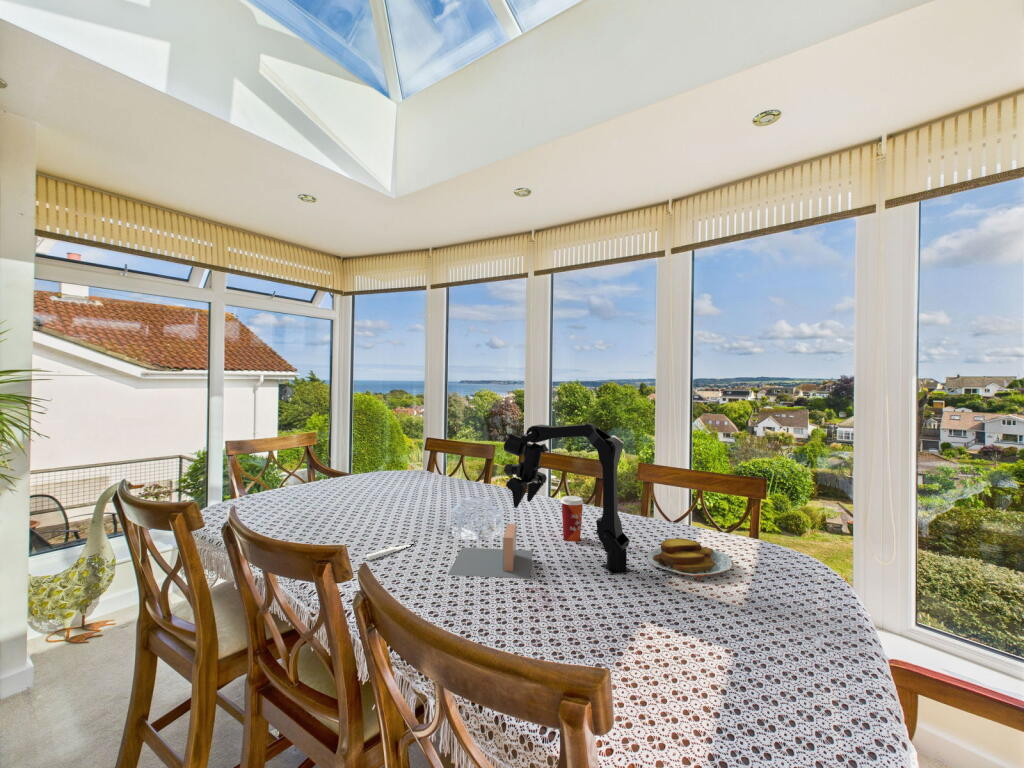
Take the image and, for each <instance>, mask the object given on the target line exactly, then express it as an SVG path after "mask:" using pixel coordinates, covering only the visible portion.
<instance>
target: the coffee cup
mask: <svg viewBox="0 0 1024 768" xmlns="http://www.w3.org/2000/svg"><path fill="white" fill-rule="evenodd" d="M560 503H561V514H562V515H561V516H562V517H561V518H562V535H563V541H564V542H575V543H578V542H580V541H581V534H582V532H581V531H582V522H583V521H582V519H583V505H584V503H585V502H584V501H583V497H581V496H577V495H566V496H562V497H561V500H560Z"/></svg>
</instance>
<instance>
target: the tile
mask: <svg viewBox="0 0 1024 768" xmlns="http://www.w3.org/2000/svg"><path fill="white" fill-rule="evenodd" d="M502 540H503V541H502V549H503V571H513V568H514V563H515V557H516V550H517V523H507V525H506V528H505V531H504V535H503V538H502Z"/></svg>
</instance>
